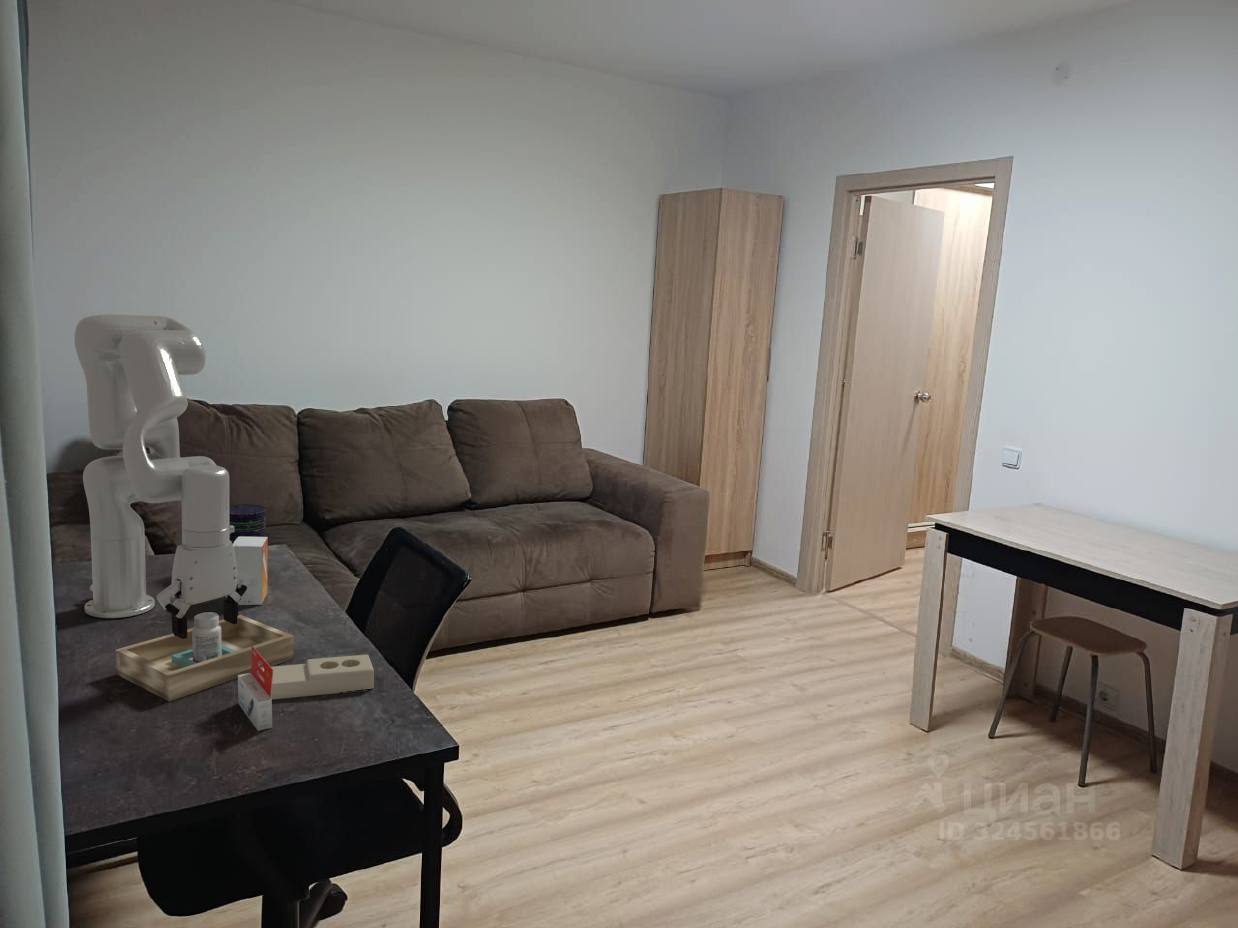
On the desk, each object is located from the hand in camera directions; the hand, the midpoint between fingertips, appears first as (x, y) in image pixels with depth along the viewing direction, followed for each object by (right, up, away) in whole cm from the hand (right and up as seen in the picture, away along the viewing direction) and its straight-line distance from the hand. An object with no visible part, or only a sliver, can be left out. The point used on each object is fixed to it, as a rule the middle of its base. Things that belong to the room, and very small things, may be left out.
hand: (206, 629), depth 163 cm
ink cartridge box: (+15, -11, -16) cm, 24 cm away
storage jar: (-15, +4, +54) cm, 57 cm away
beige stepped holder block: (+21, -10, -4) cm, 23 cm away
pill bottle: (0, -6, +1) cm, 6 cm away
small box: (-7, 0, +36) cm, 36 cm away
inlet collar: (0, -7, +1) cm, 7 cm away
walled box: (0, -7, +1) cm, 7 cm away
